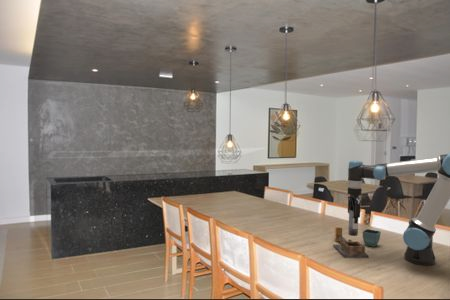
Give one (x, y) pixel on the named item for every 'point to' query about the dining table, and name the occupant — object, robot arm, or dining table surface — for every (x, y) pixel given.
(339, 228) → the lock pin
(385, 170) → the robot arm
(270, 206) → the dining table surface
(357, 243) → the dock
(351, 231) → the grey metal cylinder
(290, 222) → the dining table surface
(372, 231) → the flower pot
